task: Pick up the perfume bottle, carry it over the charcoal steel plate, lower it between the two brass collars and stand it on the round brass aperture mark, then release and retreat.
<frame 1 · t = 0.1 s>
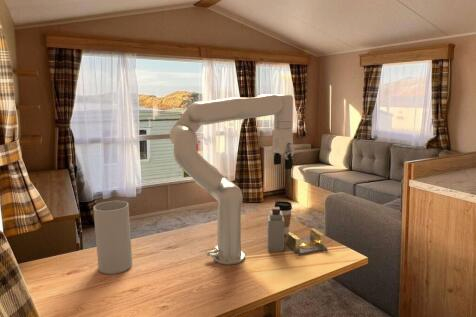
hand: (282, 166, 148), 36 cm above the table, tool pointing down, fingers open, 9 cm apart
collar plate: (305, 246, 157), on the table
cylinder vase: (115, 267, 139), on the table
coffee cup: (282, 232, 173), on the table
perfume bottle: (275, 247, 156), on the table
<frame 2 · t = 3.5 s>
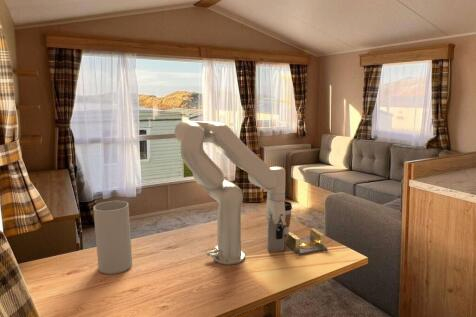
hand: (275, 234, 155), 6 cm above the table, tool pointing down, fingers closed on perfume bottle, 7 cm apart
perfume bottle: (275, 247, 156), on the table, touching gripper
everything else where it was.
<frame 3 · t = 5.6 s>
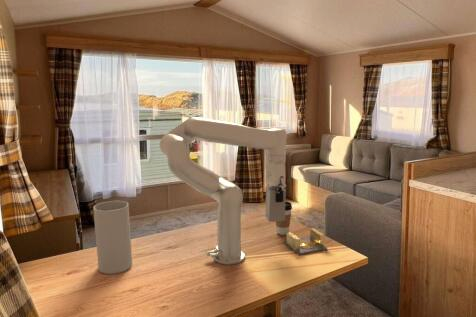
hand: (275, 199, 152), 22 cm above the table, tool pointing down, fingers closed on perfume bottle, 6 cm apart
perfume bottle: (274, 218, 154), point 13 cm above the table, touching gripper
everything else where it was.
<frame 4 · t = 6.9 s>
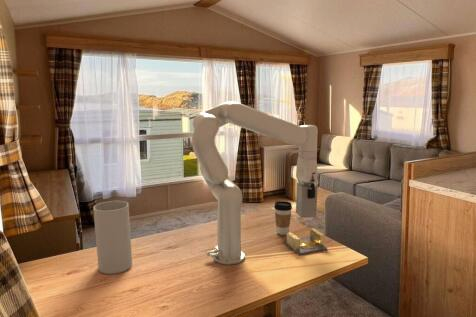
hand: (306, 195, 152), 23 cm above the table, tool pointing down, fingers closed on perfume bottle, 6 cm apart
perfume bottle: (305, 214, 155), point 14 cm above the table, touching gripper
everything else where it was.
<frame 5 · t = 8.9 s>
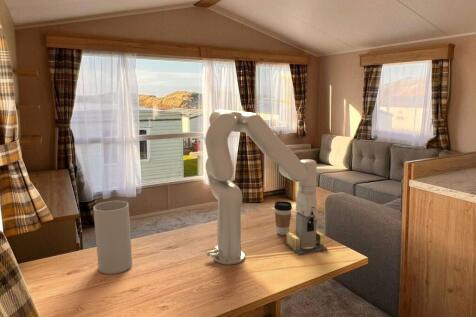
hand: (306, 228, 155), 9 cm above the table, tool pointing down, fingers closed on perfume bottle, 6 cm apart
perfume bottle: (305, 244, 157), point 1 cm above the table, touching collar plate, gripper
everything else where it was.
when the fingers open (8 cm above the table, at t = 9.2 s): perfume bottle stays where it is, resting on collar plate.
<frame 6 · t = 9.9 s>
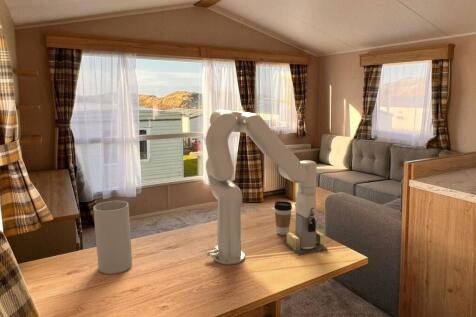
hand: (305, 227, 155), 9 cm above the table, tool pointing down, fingers open, 9 cm apart
perfume bottle: (305, 244, 157), point 1 cm above the table, touching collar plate
everything else where it was.
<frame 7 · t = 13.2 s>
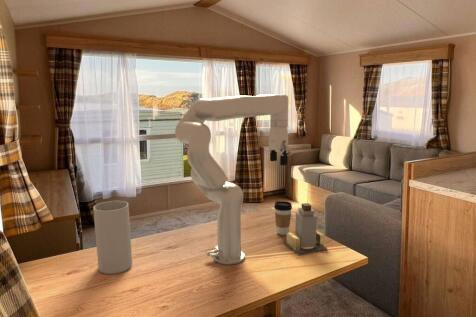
hand: (278, 162, 156), 36 cm above the table, tool pointing down, fingers open, 9 cm apart
nothing on the table moved.
at the end: perfume bottle 0.3 cm off-centre on the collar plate, point 1.0 cm above the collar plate's base; perfume bottle tilted 0°; the gripper is holding nothing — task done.
